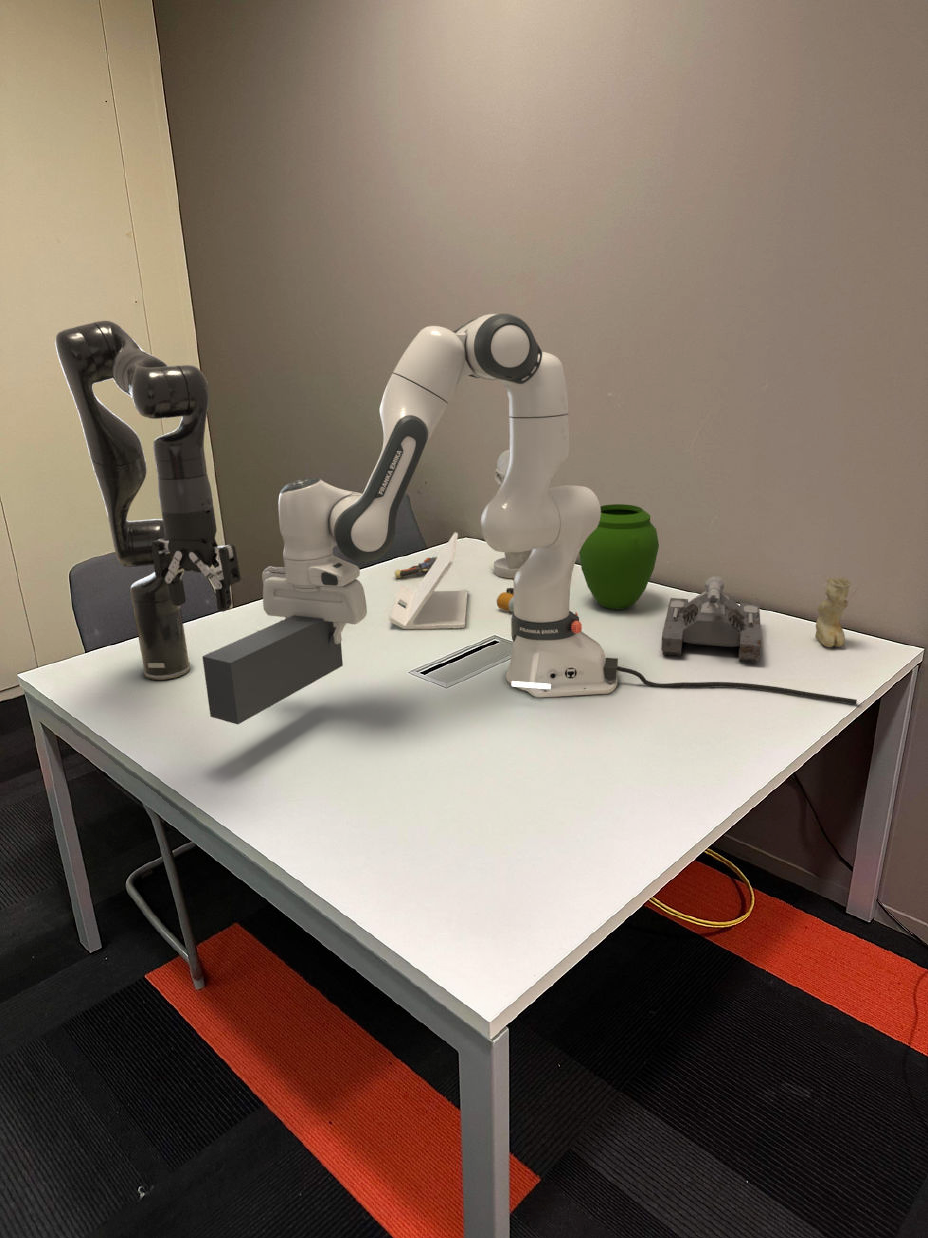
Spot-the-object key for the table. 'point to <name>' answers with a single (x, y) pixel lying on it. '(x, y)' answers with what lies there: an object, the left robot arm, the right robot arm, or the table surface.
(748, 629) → the toy
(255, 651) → the box
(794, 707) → the table surface
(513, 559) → the bust sculpture
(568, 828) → the table surface
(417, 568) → the toy gun
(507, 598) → the spray gun
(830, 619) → the sculpture
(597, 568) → the vase
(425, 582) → the tablet stand
